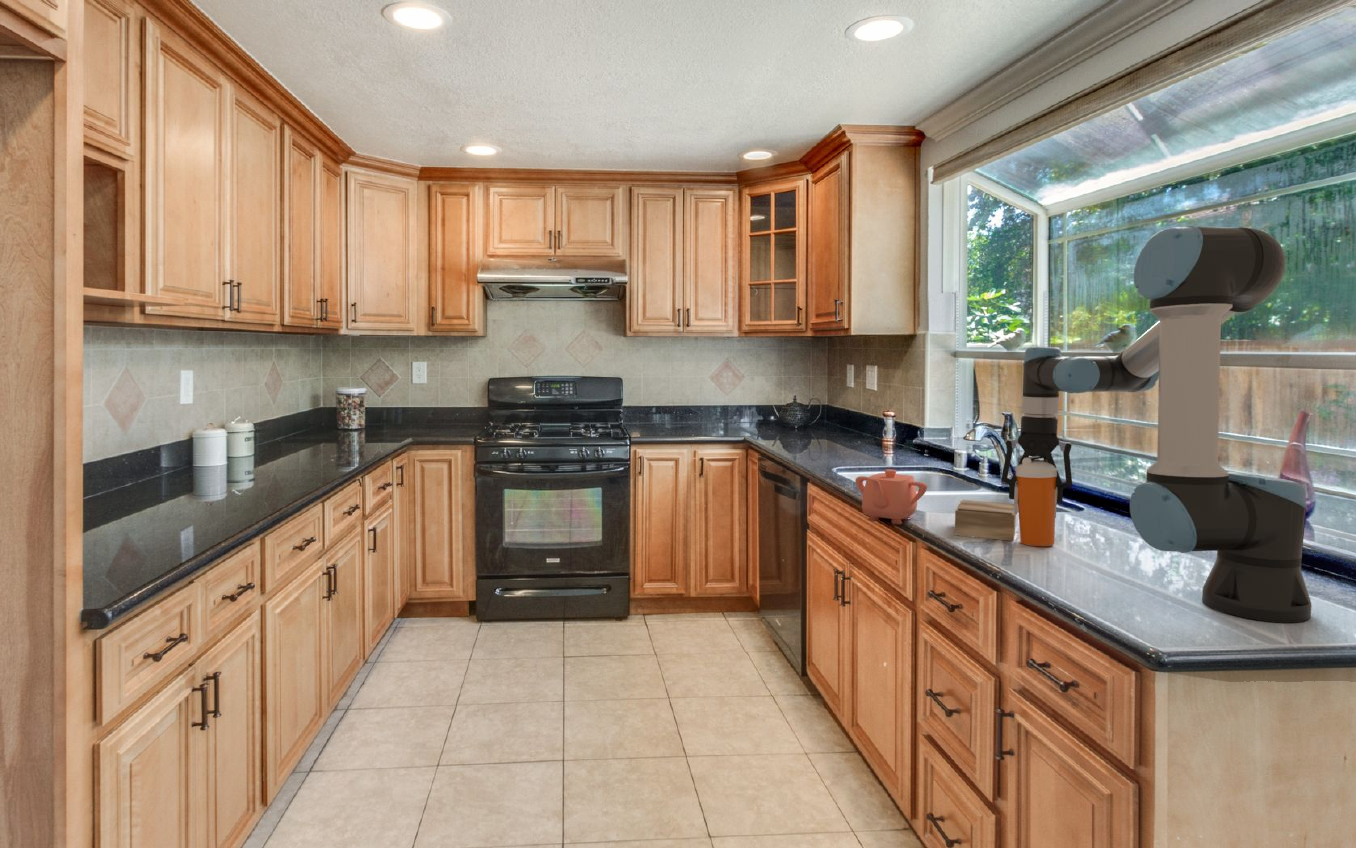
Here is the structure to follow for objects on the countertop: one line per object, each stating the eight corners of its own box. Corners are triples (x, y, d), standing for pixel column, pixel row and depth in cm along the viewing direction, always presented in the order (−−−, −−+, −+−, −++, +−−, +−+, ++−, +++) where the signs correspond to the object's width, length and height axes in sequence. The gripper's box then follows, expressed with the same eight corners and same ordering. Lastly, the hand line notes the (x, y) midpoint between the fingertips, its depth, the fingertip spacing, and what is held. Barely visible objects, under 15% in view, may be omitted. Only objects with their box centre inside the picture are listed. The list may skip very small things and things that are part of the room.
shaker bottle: (1066, 546, 175) (1065, 457, 173) (1026, 548, 175) (1024, 459, 173) (1048, 537, 183) (1046, 453, 182) (1009, 539, 184) (1008, 454, 182)
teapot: (902, 512, 214) (903, 464, 213) (932, 524, 199) (933, 473, 197) (845, 515, 211) (846, 466, 209) (871, 528, 195) (872, 476, 194)
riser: (1013, 540, 182) (1014, 513, 181) (954, 535, 187) (955, 509, 187) (1015, 529, 194) (1016, 503, 193) (959, 524, 199) (960, 499, 198)
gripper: (1089, 416, 176) (1083, 516, 178) (992, 412, 184) (988, 508, 187) (1090, 418, 169) (1084, 522, 171) (990, 415, 177) (986, 514, 180)
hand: (1034, 514), depth 179 cm, fingers closed on shaker bottle, 7 cm apart
